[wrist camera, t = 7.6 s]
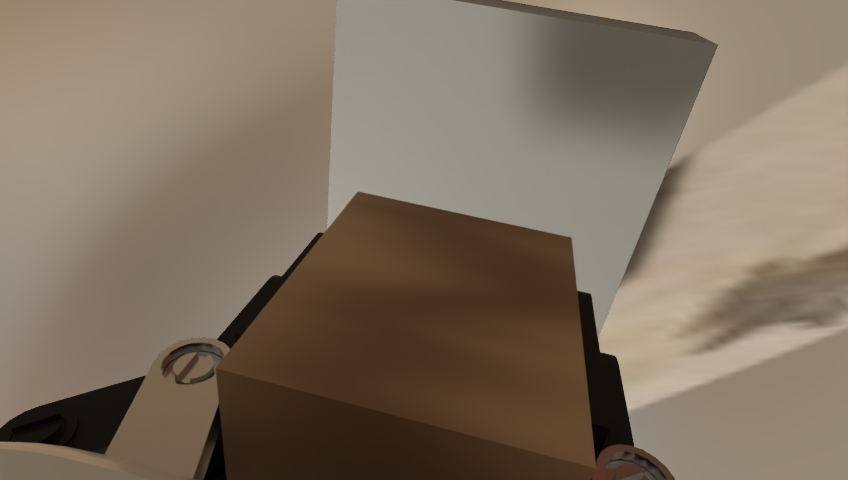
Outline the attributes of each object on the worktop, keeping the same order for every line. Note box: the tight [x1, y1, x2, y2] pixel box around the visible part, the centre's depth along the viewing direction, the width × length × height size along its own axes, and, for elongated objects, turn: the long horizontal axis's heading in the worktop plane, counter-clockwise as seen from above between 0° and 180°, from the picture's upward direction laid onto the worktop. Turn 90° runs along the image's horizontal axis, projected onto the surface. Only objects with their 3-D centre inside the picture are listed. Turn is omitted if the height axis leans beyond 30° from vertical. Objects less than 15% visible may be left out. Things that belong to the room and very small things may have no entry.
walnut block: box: [215, 192, 596, 480], centre depth 10 cm, size 5×5×6 cm
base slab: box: [327, 0, 718, 337], centre depth 20 cm, size 12×12×3 cm
